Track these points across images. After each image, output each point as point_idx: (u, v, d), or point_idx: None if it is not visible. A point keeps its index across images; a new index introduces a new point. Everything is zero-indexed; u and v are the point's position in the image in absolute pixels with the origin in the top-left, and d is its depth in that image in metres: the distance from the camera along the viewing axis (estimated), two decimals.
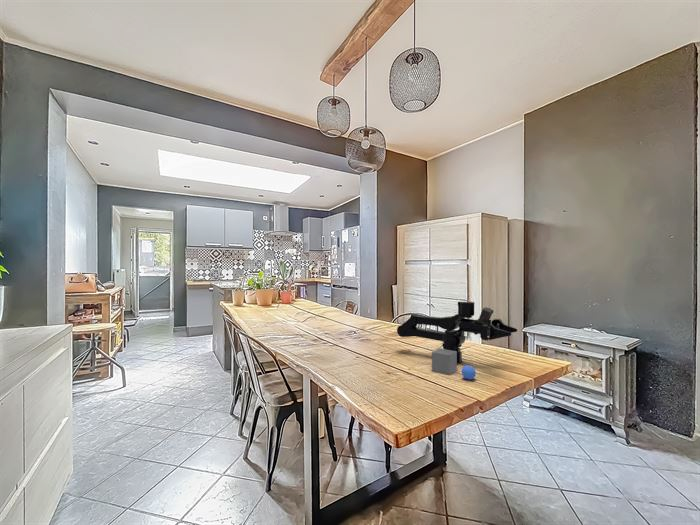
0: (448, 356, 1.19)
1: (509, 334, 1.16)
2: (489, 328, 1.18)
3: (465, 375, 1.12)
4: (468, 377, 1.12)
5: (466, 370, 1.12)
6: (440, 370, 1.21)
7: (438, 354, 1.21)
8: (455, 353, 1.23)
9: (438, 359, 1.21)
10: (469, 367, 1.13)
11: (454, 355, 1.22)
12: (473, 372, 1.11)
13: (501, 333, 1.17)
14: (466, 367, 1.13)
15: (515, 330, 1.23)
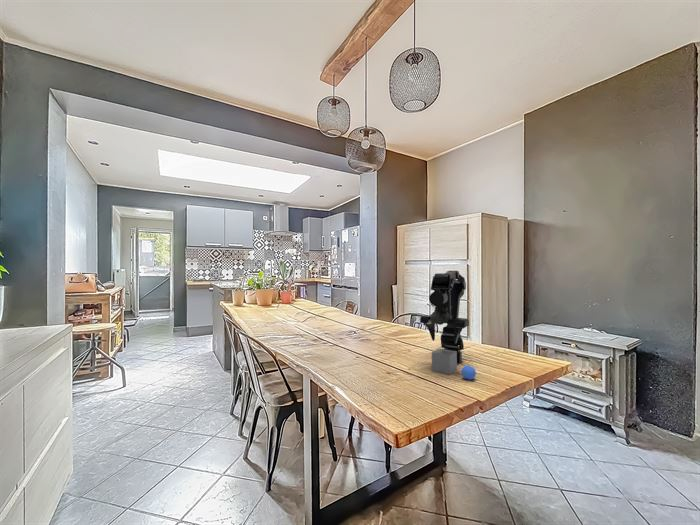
0: (448, 356, 1.19)
1: None
2: None
3: (465, 375, 1.12)
4: (468, 377, 1.12)
5: (466, 370, 1.12)
6: (440, 370, 1.21)
7: (438, 354, 1.21)
8: (455, 353, 1.23)
9: (438, 359, 1.21)
10: (469, 367, 1.13)
11: (454, 355, 1.22)
12: (473, 372, 1.11)
13: None
14: (466, 367, 1.13)
15: None
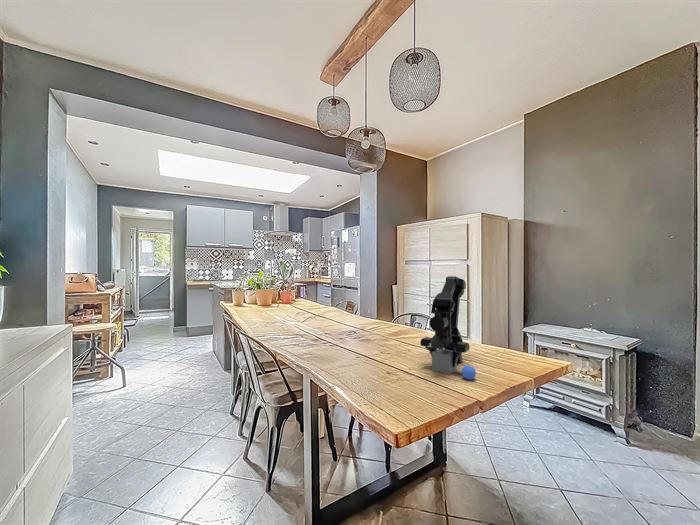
0: (448, 356, 1.19)
1: None
2: None
3: (465, 375, 1.12)
4: (468, 377, 1.12)
5: (466, 370, 1.12)
6: (440, 370, 1.21)
7: (438, 354, 1.21)
8: None
9: (438, 359, 1.21)
10: (469, 367, 1.13)
11: None
12: (473, 372, 1.11)
13: None
14: (466, 367, 1.13)
15: None
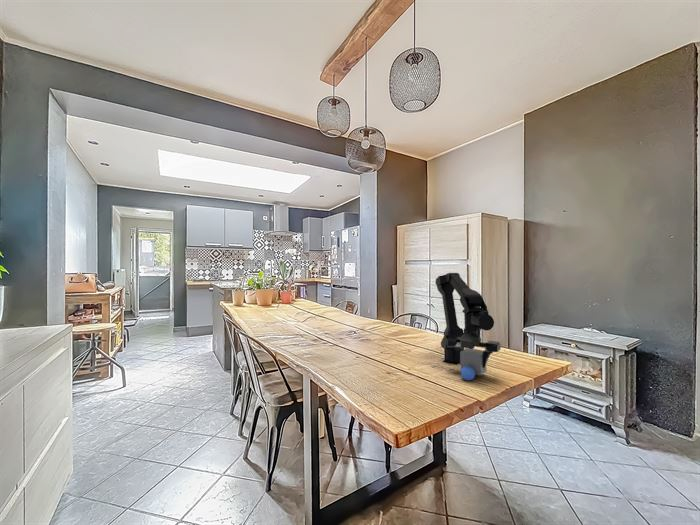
0: (479, 356, 1.13)
1: None
2: None
3: (464, 378, 1.12)
4: (468, 379, 1.11)
5: (465, 374, 1.11)
6: None
7: (467, 354, 1.15)
8: None
9: (467, 358, 1.15)
10: (467, 370, 1.11)
11: None
12: (472, 374, 1.10)
13: None
14: (464, 370, 1.12)
15: None
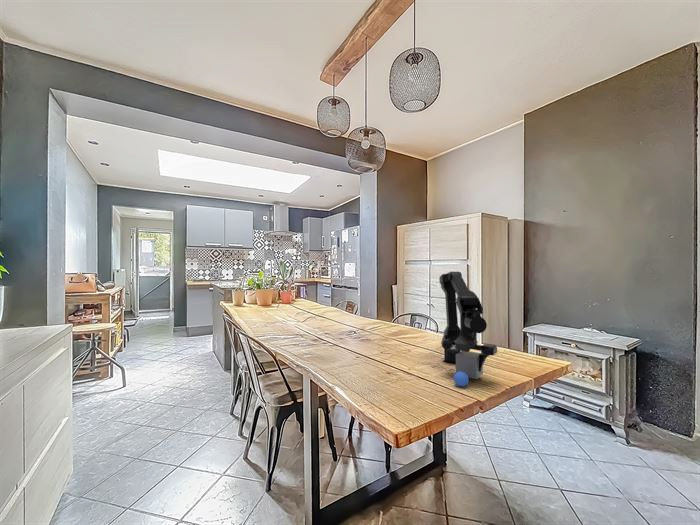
0: (474, 359, 1.10)
1: None
2: None
3: None
4: None
5: None
6: None
7: (463, 356, 1.12)
8: None
9: (463, 361, 1.12)
10: None
11: None
12: None
13: None
14: None
15: None
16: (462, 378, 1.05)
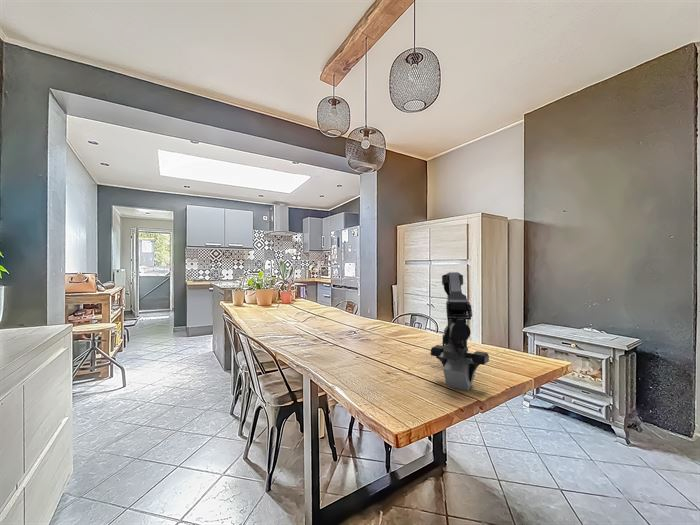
0: (463, 374, 1.00)
1: None
2: None
3: None
4: None
5: None
6: (456, 386, 1.04)
7: (451, 371, 1.03)
8: None
9: (452, 375, 1.03)
10: None
11: (469, 366, 1.04)
12: None
13: None
14: None
15: None
16: None
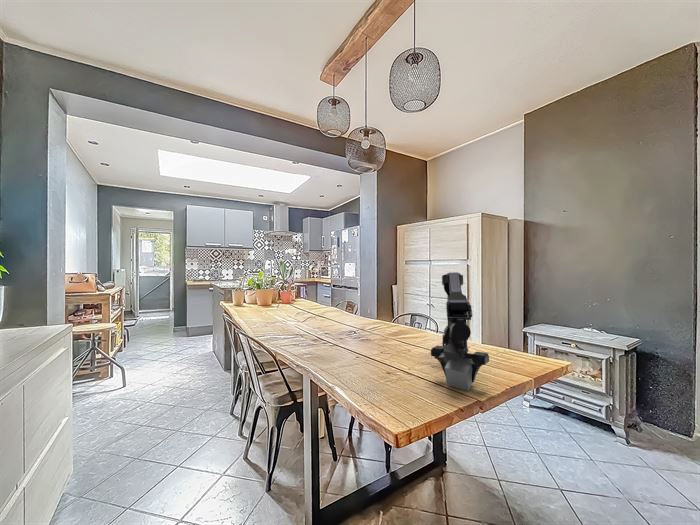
0: (465, 374, 1.00)
1: None
2: None
3: None
4: None
5: None
6: (456, 385, 1.04)
7: (452, 371, 1.03)
8: None
9: (453, 375, 1.03)
10: None
11: (471, 366, 1.03)
12: None
13: None
14: None
15: None
16: None
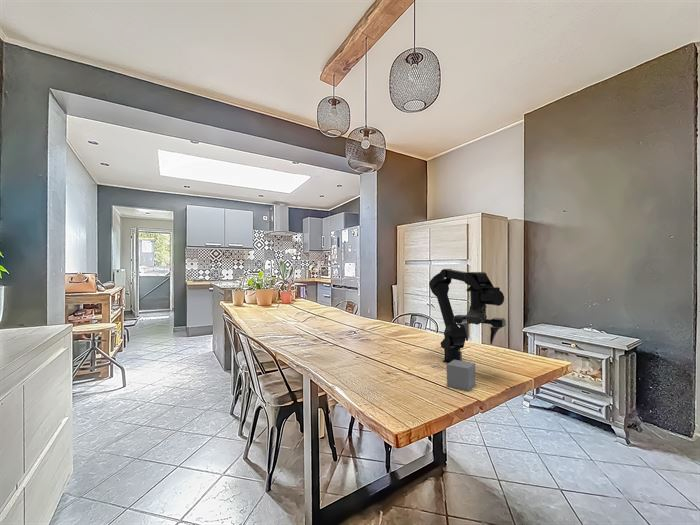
0: (466, 369, 1.03)
1: None
2: None
3: None
4: None
5: None
6: (457, 385, 1.05)
7: (454, 367, 1.05)
8: (473, 365, 1.07)
9: (454, 372, 1.05)
10: None
11: (472, 368, 1.06)
12: None
13: None
14: None
15: None
16: None
